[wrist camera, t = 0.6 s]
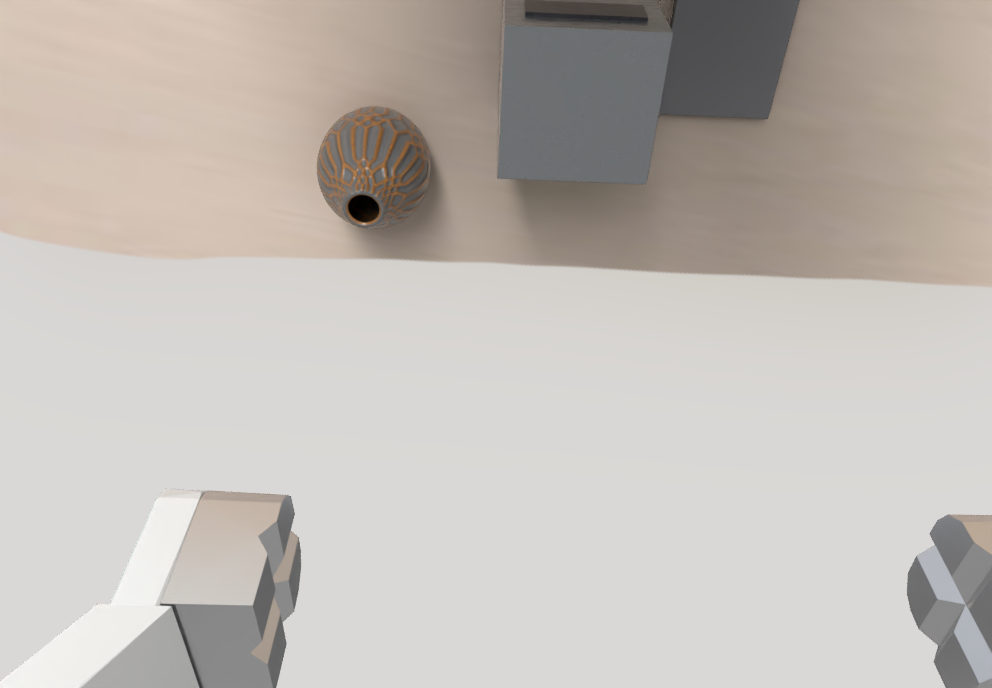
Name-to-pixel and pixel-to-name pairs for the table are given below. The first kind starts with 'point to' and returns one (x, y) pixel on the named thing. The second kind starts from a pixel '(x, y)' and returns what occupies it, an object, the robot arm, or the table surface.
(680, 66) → the pad
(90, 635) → the robot arm
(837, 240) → the table surface
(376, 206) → the vase
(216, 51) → the table surface
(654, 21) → the block
